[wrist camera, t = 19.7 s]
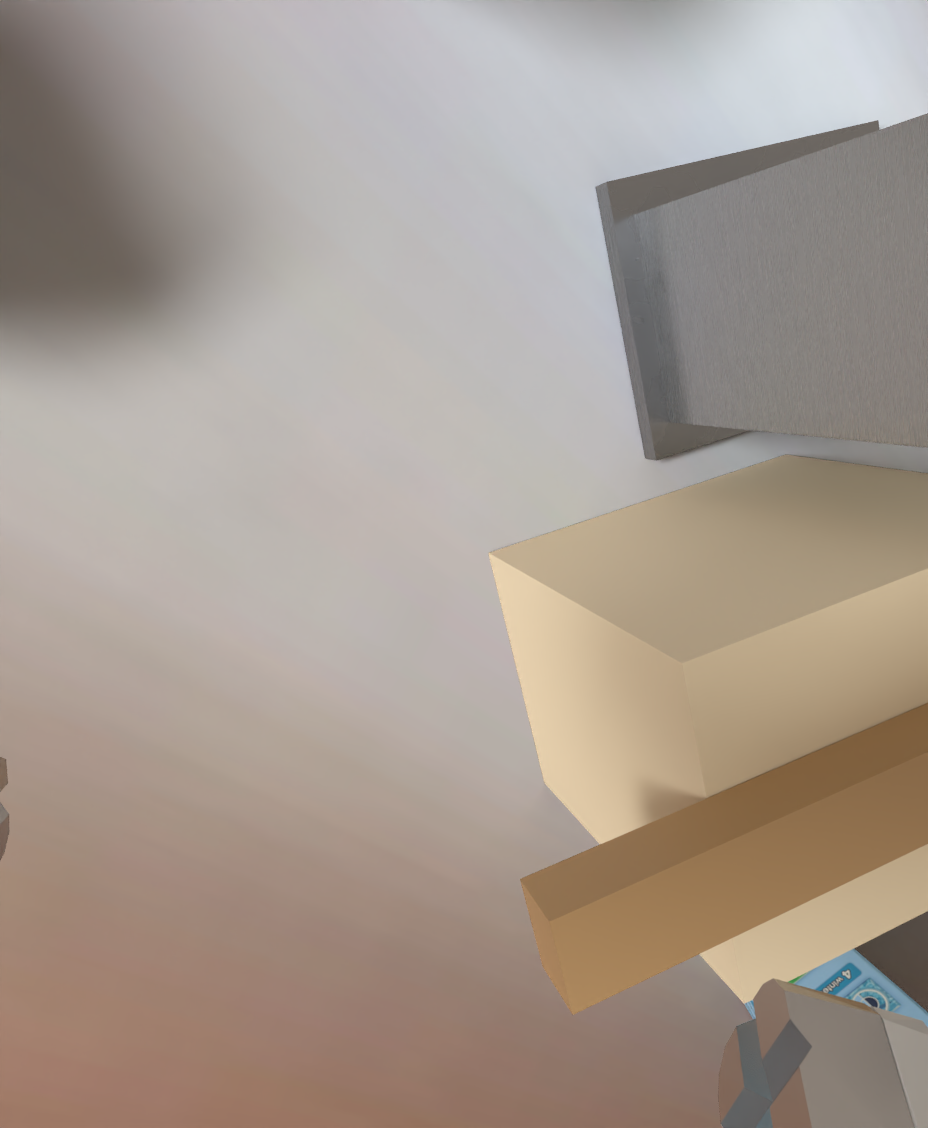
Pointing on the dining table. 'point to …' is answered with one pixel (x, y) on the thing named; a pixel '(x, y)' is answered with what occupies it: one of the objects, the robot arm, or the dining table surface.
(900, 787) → the brown wooden bar
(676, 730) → the carton
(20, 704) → the dining table surface
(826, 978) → the gum box
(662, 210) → the dispenser stand
